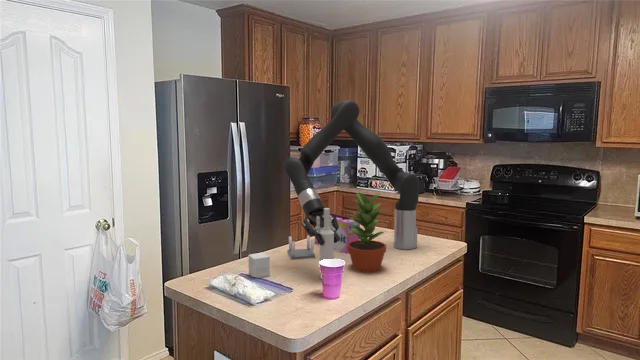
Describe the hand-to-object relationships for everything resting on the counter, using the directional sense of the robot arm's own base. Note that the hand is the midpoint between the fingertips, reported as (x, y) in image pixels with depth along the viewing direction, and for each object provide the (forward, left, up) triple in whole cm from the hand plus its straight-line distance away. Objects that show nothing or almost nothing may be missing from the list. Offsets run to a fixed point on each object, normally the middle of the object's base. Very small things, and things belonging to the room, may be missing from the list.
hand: (329, 242), depth 145 cm
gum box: (-13, -40, -14) cm, 44 cm away
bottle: (+1, -2, -13) cm, 14 cm away
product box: (+24, -11, -14) cm, 29 cm away
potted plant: (-17, -9, -13) cm, 24 cm away
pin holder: (+5, -31, -13) cm, 34 cm away
